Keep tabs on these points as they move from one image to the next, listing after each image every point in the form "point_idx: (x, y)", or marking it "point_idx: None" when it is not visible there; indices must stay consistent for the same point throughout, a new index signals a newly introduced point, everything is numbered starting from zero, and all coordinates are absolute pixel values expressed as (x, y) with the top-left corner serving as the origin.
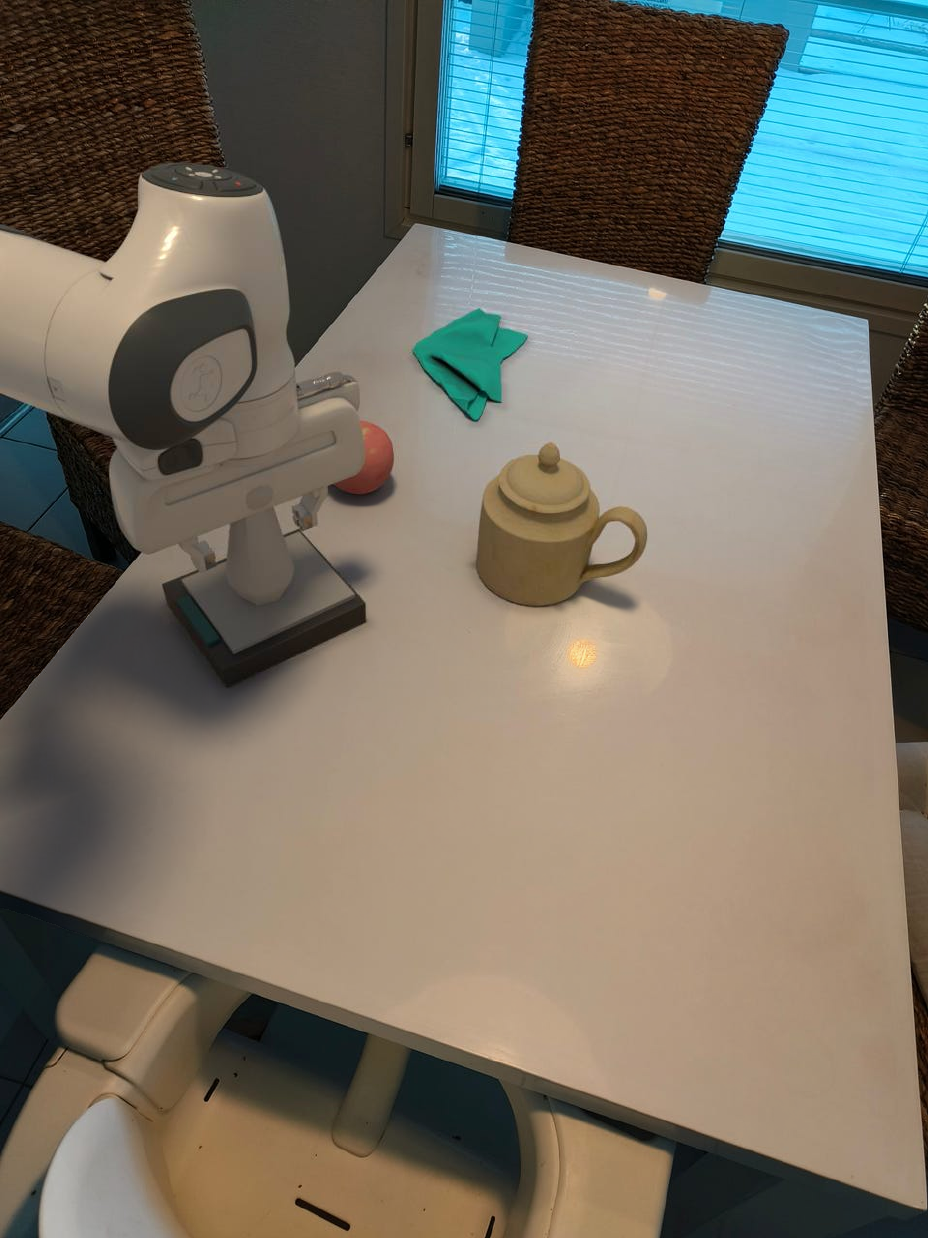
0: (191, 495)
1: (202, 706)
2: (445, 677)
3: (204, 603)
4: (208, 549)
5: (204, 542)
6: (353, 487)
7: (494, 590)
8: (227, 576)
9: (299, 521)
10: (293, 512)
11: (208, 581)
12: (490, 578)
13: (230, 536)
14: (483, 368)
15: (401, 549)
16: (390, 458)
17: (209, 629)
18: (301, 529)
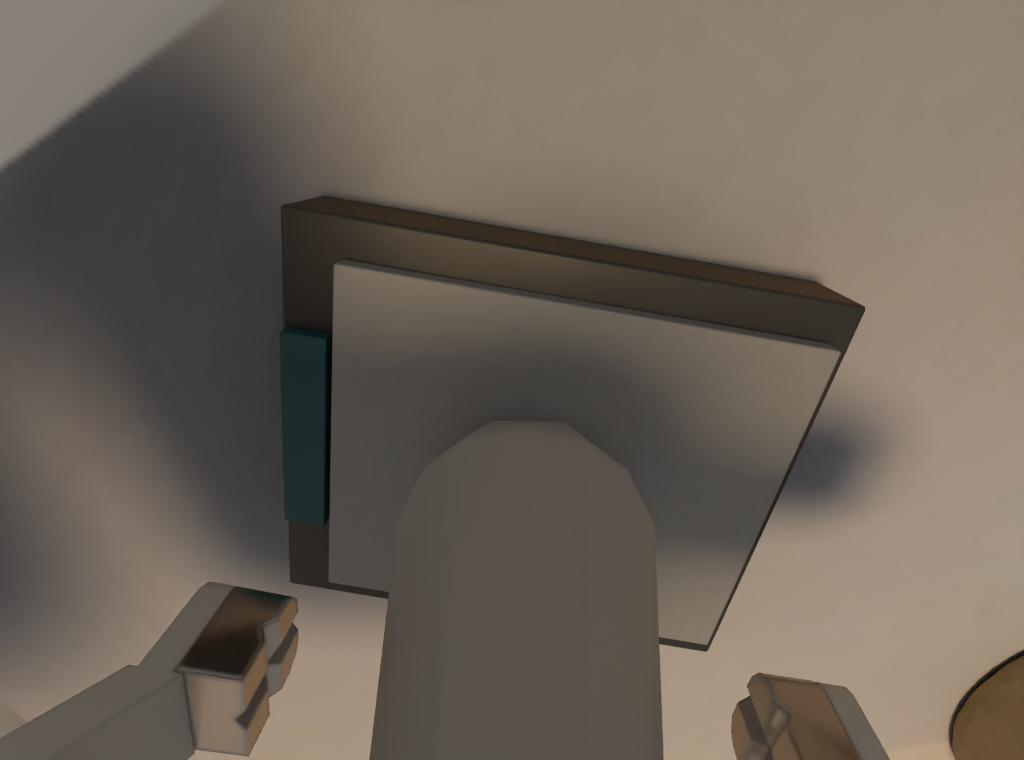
0: None
1: (255, 531)
2: (674, 751)
3: (346, 411)
4: (229, 730)
5: (231, 692)
6: None
7: (964, 719)
8: (403, 511)
9: (759, 749)
10: (786, 743)
11: (408, 340)
12: (992, 739)
13: (372, 744)
14: None
15: (994, 493)
16: None
17: (314, 488)
18: (735, 727)
